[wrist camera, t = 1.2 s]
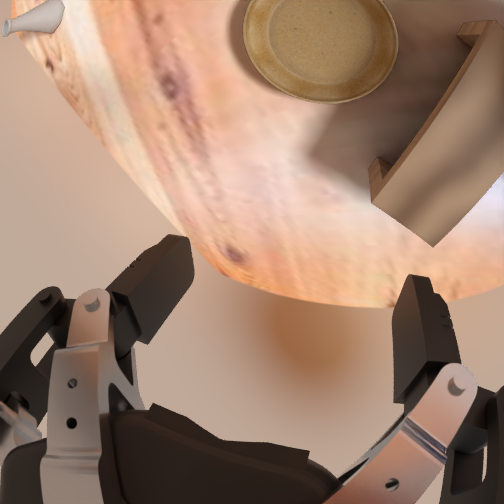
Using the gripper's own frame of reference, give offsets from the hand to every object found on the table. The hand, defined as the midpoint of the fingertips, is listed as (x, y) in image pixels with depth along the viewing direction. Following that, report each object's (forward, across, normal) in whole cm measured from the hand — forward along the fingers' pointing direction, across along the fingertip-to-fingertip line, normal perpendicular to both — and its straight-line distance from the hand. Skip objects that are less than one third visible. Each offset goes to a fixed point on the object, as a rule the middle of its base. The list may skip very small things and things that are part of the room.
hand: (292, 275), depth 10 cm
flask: (+20, +42, -27) cm, 54 cm away
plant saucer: (+22, +1, -13) cm, 25 cm away
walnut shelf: (+22, -13, -6) cm, 27 cm away
